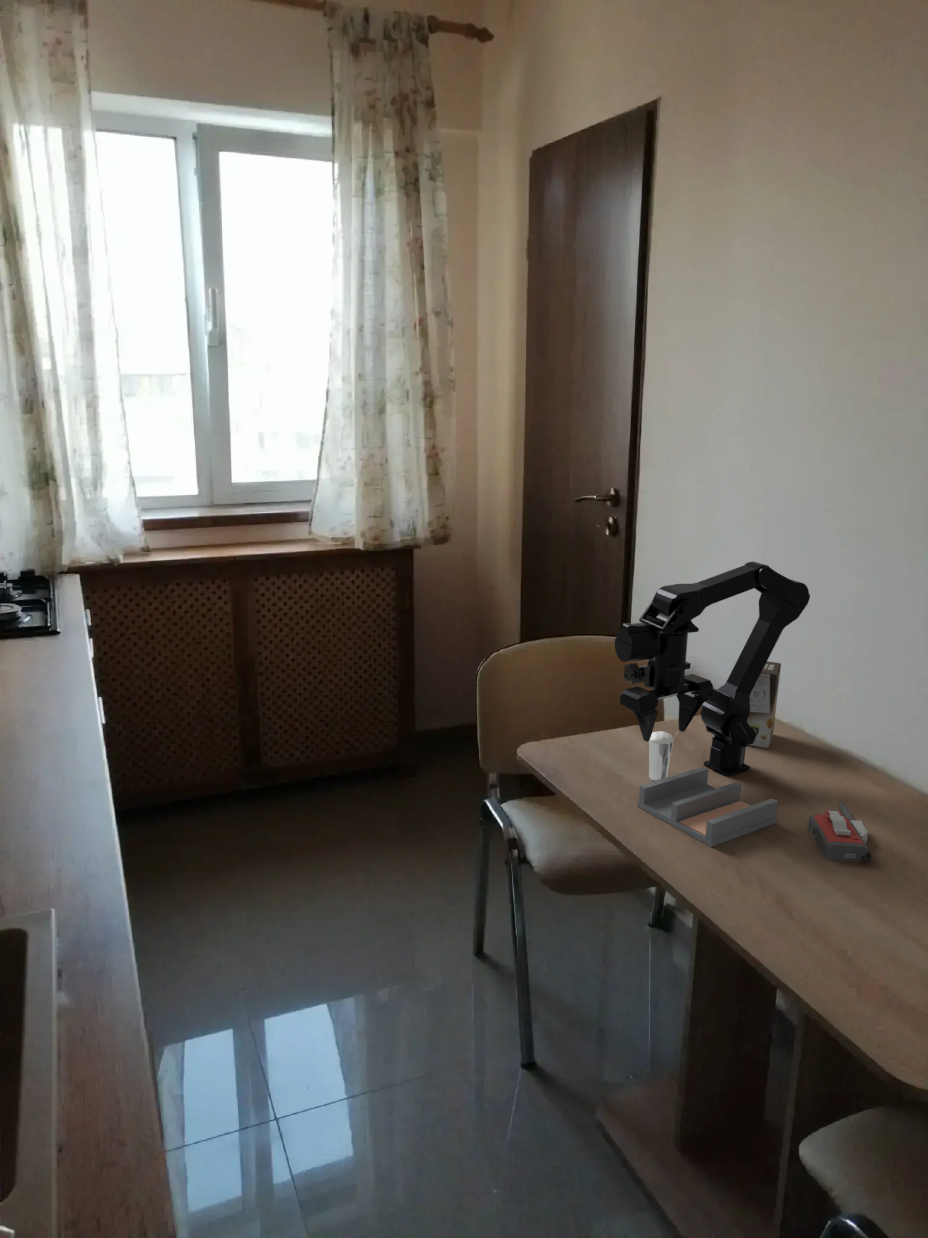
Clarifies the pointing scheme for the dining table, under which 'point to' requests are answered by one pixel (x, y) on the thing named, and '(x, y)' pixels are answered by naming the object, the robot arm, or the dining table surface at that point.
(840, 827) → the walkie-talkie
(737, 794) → the grey slotted tray
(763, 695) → the coffee box
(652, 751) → the milkshake
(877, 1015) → the dining table surface
